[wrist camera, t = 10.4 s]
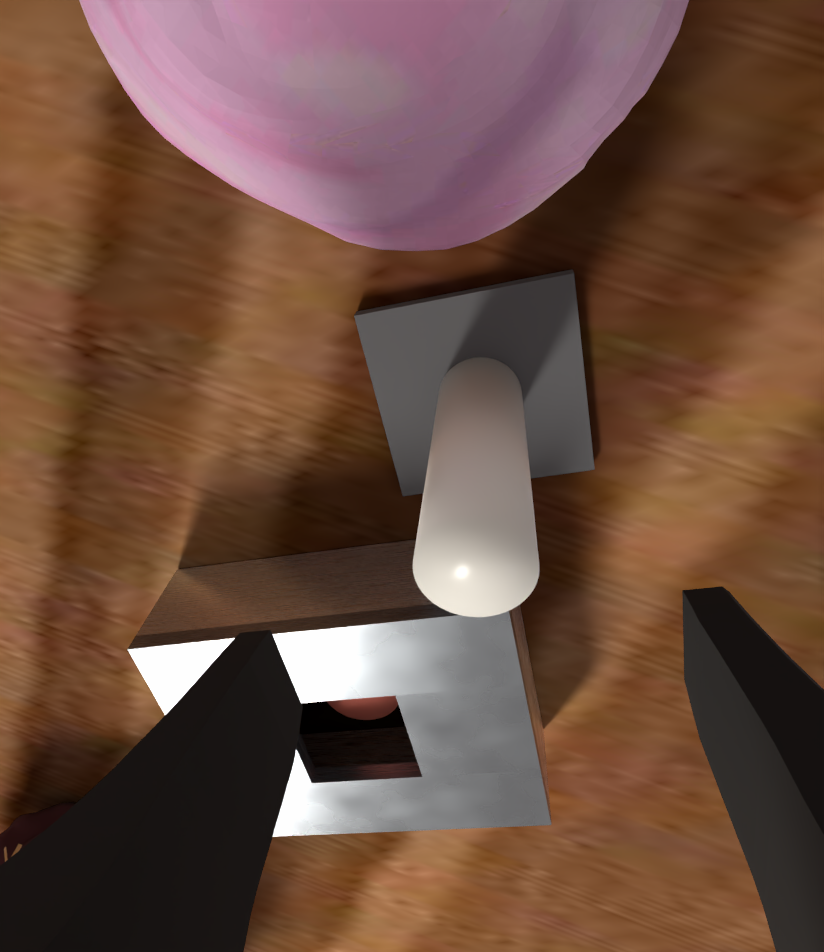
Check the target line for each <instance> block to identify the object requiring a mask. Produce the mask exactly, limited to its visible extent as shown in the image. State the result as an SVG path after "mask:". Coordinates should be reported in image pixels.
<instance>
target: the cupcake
mask: <svg viewBox="0 0 824 952" xmlns="http://www.w3.org/2000/svg"><path fill="white" fill-rule="evenodd" d="M79 1H80V3H81V6H82V8H83V11H84V14H85V16H86V19H87V21H88V24H89V27H90V29H91V31H92V33H93V35H94V37H95V38H96V40H97V42H98V44H99V46H100V48H101V50H102V51H103V53H104V55H105V57H106V59H107V61H108V62H109V64H110V66H111V67H112V69H113V71H114V73H115V74H116V76H117V78H118V79H119V81H120V83H121V84H122V86H123V88H124V89H125V91H126V92H127V94H128V95H129V96H130V98H131V99H132V101H133V102H134V104H135V105H136V106H137V108H138V109H139V111H140V112H141V113H142V115H143V116H144V117H145V118H146V119H147V120H148V121H149V122H150V123H151V124H152V125H153V127H154V128H155V129H156V130H157V131H158V132H159V133H160V134H161V135H162V136H163V137H164V138H165V139H166V140H168V141H169V142H170V143H172V144H173V145H174V146H175V147H177V148H178V149H179V150H180V151H182V152H183V153H184V154H185V155H187V156H188V157H190V158H191V159H193V160H194V161H196V162H197V163H198V164H200V165H201V166H203V167H204V168H206V169H207V170H209V171H210V172H212V173H213V174H215V175H216V176H218V177H219V178H221V179H223V180H224V181H226V182H227V183H229V184H230V185H232V186H233V187H235V188H237V189H239V190H241V191H242V192H244V193H246V194H248V195H250V196H252V197H254V198H255V199H257V200H259V201H262V202H264V203H266V204H268V205H270V206H272V207H274V208H276V209H279V210H281V211H283V212H285V213H287V214H289V215H292V216H294V217H296V218H299V219H301V220H303V221H305V222H307V223H309V224H311V225H313V226H315V227H317V228H320V229H322V230H324V231H326V232H328V233H330V234H332V235H334V236H336V237H338V238H340V239H342V240H344V241H347V242H350V243H355V244H359V245H363V246H368V247H372V248H377V249H381V250H403V251H423V250H441V249H449V248H452V247H456V246H460V245H463V244H467V243H471V242H474V241H478V240H480V239H482V238H484V237H486V236H488V235H490V234H492V233H494V232H497V231H499V230H501V229H503V228H505V227H507V226H509V225H511V224H512V223H514V222H515V221H517V220H518V219H520V218H522V217H523V216H525V215H526V214H528V213H529V212H531V211H533V210H534V209H535V208H537V207H538V206H539V205H540V204H541V203H543V202H544V201H545V200H546V199H548V198H549V197H550V196H551V195H552V194H554V193H555V192H556V191H557V190H558V189H560V188H561V187H562V186H563V185H564V184H566V183H567V182H568V181H569V180H570V179H572V178H573V177H574V176H575V175H576V174H578V173H579V172H580V171H581V170H582V169H584V167H585V165H586V163H587V161H588V160H589V159H590V157H591V156H592V155H593V153H594V152H595V151H596V150H597V148H598V147H599V146H600V144H601V143H602V142H603V141H604V140H605V139H606V138H607V137H608V136H609V135H610V134H611V133H612V132H613V131H614V130H615V129H616V128H617V127H618V126H619V125H620V123H621V122H622V121H623V120H624V119H625V118H626V116H627V115H628V113H629V112H630V110H631V109H632V107H633V106H634V105H635V104H636V103H637V102H638V101H639V100H640V99H641V98H642V97H643V96H644V95H645V94H646V92H647V90H648V89H649V87H650V85H651V83H652V82H653V80H654V78H655V76H656V75H657V73H658V71H659V69H660V68H661V66H662V64H663V62H664V60H665V58H666V56H667V54H668V52H669V50H670V48H671V46H672V44H673V42H674V40H675V38H676V36H677V34H678V32H679V29H680V26H681V23H682V20H683V17H684V14H685V11H686V8H687V5H688V2H689V0H79Z"/></svg>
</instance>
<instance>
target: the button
mask: <svg viewBox="0 0 824 952" xmlns="http://www.w3.org/2000/svg"><path fill="white" fill-rule="evenodd" d="M327 702H328V704H329V705H330V706H331V707H332V708H333V709H335V710H336V711H337V712H339V713H341V714H343V715H345V716H348V717H351V718H354V719H360V720H373V719H379V718H382V717H385V716H387V715H389V714H390V713H392V712H393V711H394V710H395V709H396V707H397V706H398V702H397V699H396V696H384V697H372V698H359V699H347V700H335V701H327Z"/></svg>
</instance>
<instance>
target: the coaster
mask: <svg viewBox="0 0 824 952" xmlns="http://www.w3.org/2000/svg"><path fill="white" fill-rule="evenodd" d="M354 317H355V321H356V325H357V328H358V332H359V336H360V339H361V343H362V347H363V351H364V354H365V358H366V362H367V365H368V369H369V373H370V376H371V380H372V384H373V388H374V391H375V395H376V399H377V402H378V406H379V410H380V414H381V417H382V421H383V425H384V428H385V432H386V436H387V440H388V443H389V447H390V451H391V454H392V458H393V462H394V466H395V469H396V473H397V477H398V480H399V484H400V488H401V492H402V495H403V496H409V495H416V494H423V492H424V486H425V479H426V473H427V467H428V460H429V454H430V447H431V441H432V434H433V428H434V421H435V415H436V408H437V402H438V395H439V389H440V385H441V382H442V380H443V378H444V376H445V375H446V374H447V372H448V371H449V370H450V369H451V368H452V367H454V366H455V365H456V364H458V363H460V362H462V361H464V360H467V359H470V358H476V357H486V358H491V359H495V360H498V361H500V362H502V363H503V364H505V365H507V366H508V367H509V368H510V369H511V370H512V371H513V372H514V373H515V375H516V376H517V378H518V380H519V382H520V385H521V390H522V398H523V408H524V418H525V428H526V438H527V448H528V458H529V467H530V477H531V478H538V477H545V476H552V475H559V474H567V473H574V472H581V471H588V470H595V469H594V459H593V450H592V440H591V431H590V421H589V411H588V402H587V392H586V383H585V373H584V364H583V354H582V344H581V335H580V325H579V316H578V306H577V297H576V287H575V278H574V272H573V270H572V269H571V270H566V271H561V272H556V273H551V274H546V275H541V276H536V277H531V278H525V279H520V280H515V281H510V282H505V283H500V284H495V285H490V286H485V287H479V288H474V289H469V290H464V291H459V292H454V293H449V294H444V295H439V296H434V297H428V298H423V299H418V300H413V301H408V302H403V303H398V304H393V305H388V306H382V307H377V308H372V309H367V310H362V311H357V312H356V314H355V315H354Z"/></svg>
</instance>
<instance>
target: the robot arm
mask: <svg viewBox="0 0 824 952" xmlns="http://www.w3.org/2000/svg"><path fill="white" fill-rule="evenodd" d="M683 634H684V680H685V683H686V687H687V691H688V695H689V699H690V703H691V707H692V711H693V715H694V718H695V722H696V726H697V730H698V733H699V737H700V740H701V743H702V745H703V748H704V751H705V753H706V756H707V759H708V761H709V764H710V766H711V769H712V772H713V774H714V777H715V780H716V782H717V785H718V787H719V790H720V793H721V795H722V798H723V800H724V803H725V806H726V808H727V811H728V813H729V816H730V818H731V821H732V824H733V826H734V829H735V831H736V834H737V837H738V839H739V842H740V844H741V847H742V850H743V852H744V855H745V857H746V860H747V862H748V865H749V868H750V870H751V873H752V875H753V878H754V881H755V884H756V887H757V890H758V893H759V896H760V899H761V902H762V904H763V907H764V911H765V914H766V918H767V921H768V925H769V928H770V932H771V935H772V938H773V942H774V945H775V949H776V952H824V689H823V688H821V687H820V686H819V685H818V684H817V683H816V682H815V681H814V680H813V679H812V678H811V677H810V676H809V675H808V674H807V673H806V672H805V671H804V670H803V669H802V668H801V667H800V666H798V665H797V664H796V663H795V662H794V661H793V660H792V659H791V658H790V657H789V656H788V655H787V654H786V653H785V652H784V651H783V650H782V649H781V648H780V647H779V646H778V645H777V644H776V643H775V642H774V640H773V639H772V638H771V637H770V636H769V635H768V634H767V633H766V632H765V631H764V630H763V629H762V628H761V627H760V626H759V625H758V624H757V623H756V621H755V620H754V619H753V618H752V617H751V616H750V615H749V614H748V613H747V612H746V610H745V609H744V608H743V607H742V606H741V605H740V604H739V603H738V601H737V600H736V599H735V598H734V597H733V596H732V594H731V593H730V592H729V591H727V590H726V589H725V588H723V587H714V588H703V589H693V590H683ZM302 709H303V706H302V704H301V702H300V699H299V697H298V694H297V692H296V689H295V687H294V685H293V682H292V680H291V677H290V675H289V673H288V670H287V668H286V665H285V663H284V661H283V658H282V656H281V653H280V651H279V649H278V646H277V644H276V641H275V639H274V637H273V634H272V632H271V630H263V631H253V632H242V633H239V634H238V635H237V636H236V637H235V639H234V640H233V641H232V642H231V643H230V644H229V645H228V646H227V647H226V648H225V649H224V650H223V651H222V653H221V654H220V655H219V656H218V657H217V658H216V659H215V660H214V662H213V663H212V664H211V665H210V666H209V667H208V668H207V669H206V671H205V672H204V673H203V674H202V675H201V676H200V677H199V678H198V680H197V681H196V682H195V683H194V684H193V685H192V686H191V687H190V689H189V690H188V691H187V692H186V693H185V694H184V695H183V696H182V697H181V698H180V700H179V701H178V702H177V703H176V704H175V705H174V706H173V707H172V708H171V710H170V711H169V712H168V713H167V714H166V715H165V716H164V717H163V718H162V719H161V721H160V722H159V723H158V724H157V725H156V726H155V727H154V728H153V729H152V730H151V731H150V732H149V733H148V734H147V735H146V736H145V737H144V738H143V739H142V740H141V741H140V742H139V743H138V744H137V745H136V746H135V747H134V748H133V749H132V750H131V751H130V752H129V753H128V754H127V755H126V756H125V757H124V758H123V759H122V761H121V762H120V763H119V764H118V765H117V766H116V767H115V768H114V769H113V770H112V771H111V772H110V773H108V774H107V775H106V776H105V777H104V778H103V779H102V780H101V781H100V782H99V783H98V784H97V785H96V786H95V787H94V788H93V789H91V790H90V791H89V792H88V793H87V794H86V795H85V796H84V797H83V798H82V799H80V800H79V801H78V802H77V803H76V804H75V805H74V806H72V807H71V808H70V809H69V810H68V811H67V812H66V813H65V814H63V815H62V816H61V817H60V818H59V819H58V820H57V821H55V822H54V823H53V824H52V825H51V826H49V827H48V828H47V829H46V830H45V831H43V832H42V833H41V834H40V835H38V836H37V837H36V838H34V839H33V840H32V841H31V842H29V843H28V844H27V845H26V846H24V847H23V848H22V849H21V850H19V851H18V852H17V853H16V854H14V855H13V856H12V857H11V858H9V859H8V860H7V861H6V862H4V863H3V864H2V865H0V952H243V951H244V946H245V941H246V935H247V930H248V925H249V920H250V915H251V911H252V907H253V903H254V899H255V895H256V891H257V887H258V884H259V880H260V877H261V874H262V870H263V867H264V863H265V860H266V857H267V853H268V850H269V847H270V843H271V840H272V836H273V833H274V830H275V826H276V823H277V819H278V816H279V813H280V809H281V806H282V803H283V799H284V796H285V792H286V789H287V785H288V782H289V778H290V775H291V771H292V767H293V764H294V759H295V754H296V748H297V742H298V736H299V729H300V723H301V716H302Z"/></svg>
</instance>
